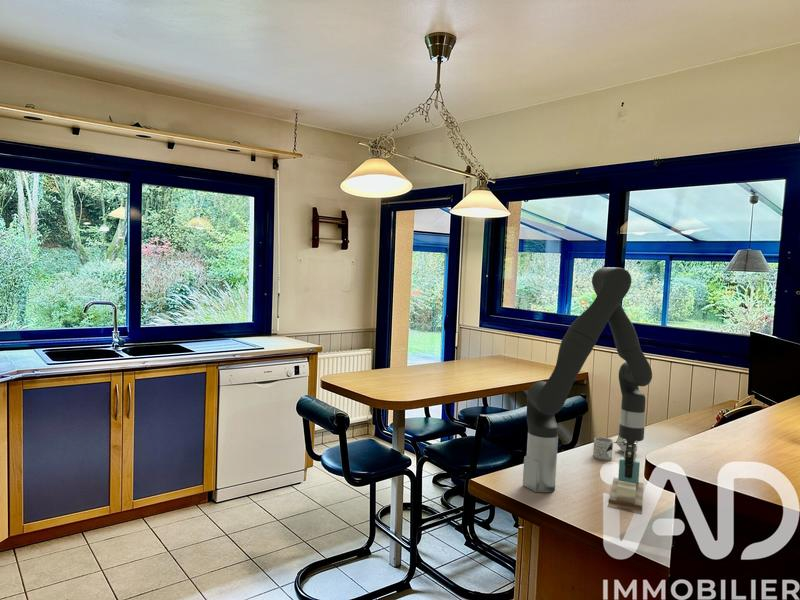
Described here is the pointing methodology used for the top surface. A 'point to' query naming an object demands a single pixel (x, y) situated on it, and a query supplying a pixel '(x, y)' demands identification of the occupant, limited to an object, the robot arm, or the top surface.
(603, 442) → the mug
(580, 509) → the top surface
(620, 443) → the game die
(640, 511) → the multicoloured piece
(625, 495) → the ash cube
